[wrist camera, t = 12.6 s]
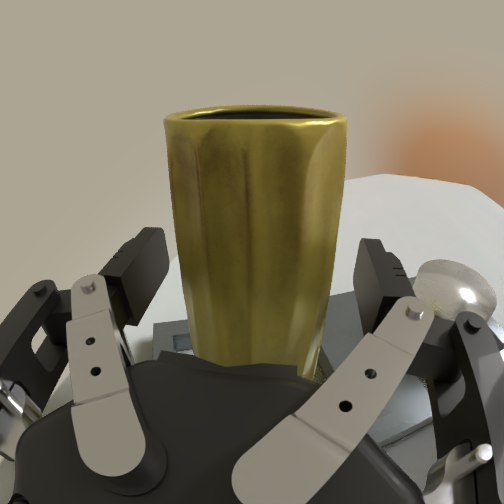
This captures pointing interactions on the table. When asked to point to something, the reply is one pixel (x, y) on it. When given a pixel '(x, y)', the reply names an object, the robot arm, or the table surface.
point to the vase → (256, 228)
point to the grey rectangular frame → (350, 334)
